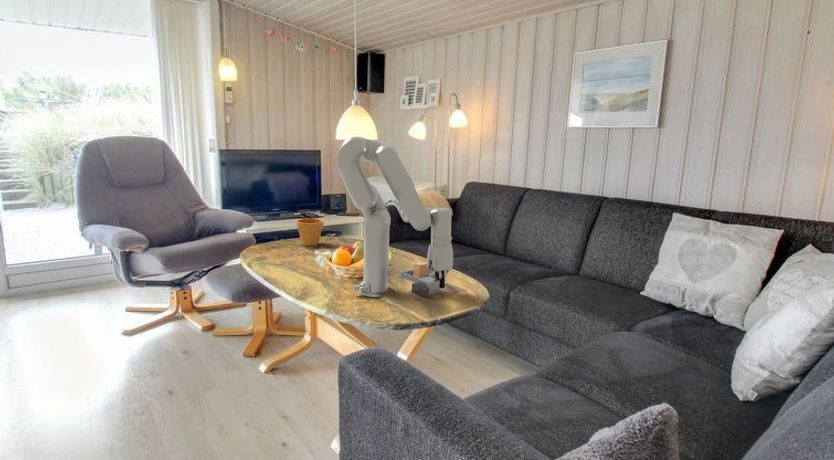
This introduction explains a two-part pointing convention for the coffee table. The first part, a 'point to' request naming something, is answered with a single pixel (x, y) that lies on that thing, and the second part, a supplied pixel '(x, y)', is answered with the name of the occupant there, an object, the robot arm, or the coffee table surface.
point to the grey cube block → (430, 284)
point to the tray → (410, 276)
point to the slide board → (423, 294)
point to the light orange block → (420, 270)
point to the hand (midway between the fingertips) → (440, 287)
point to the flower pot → (309, 231)
